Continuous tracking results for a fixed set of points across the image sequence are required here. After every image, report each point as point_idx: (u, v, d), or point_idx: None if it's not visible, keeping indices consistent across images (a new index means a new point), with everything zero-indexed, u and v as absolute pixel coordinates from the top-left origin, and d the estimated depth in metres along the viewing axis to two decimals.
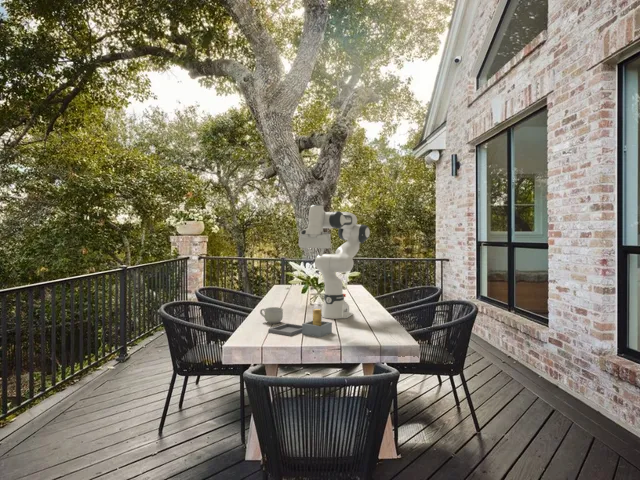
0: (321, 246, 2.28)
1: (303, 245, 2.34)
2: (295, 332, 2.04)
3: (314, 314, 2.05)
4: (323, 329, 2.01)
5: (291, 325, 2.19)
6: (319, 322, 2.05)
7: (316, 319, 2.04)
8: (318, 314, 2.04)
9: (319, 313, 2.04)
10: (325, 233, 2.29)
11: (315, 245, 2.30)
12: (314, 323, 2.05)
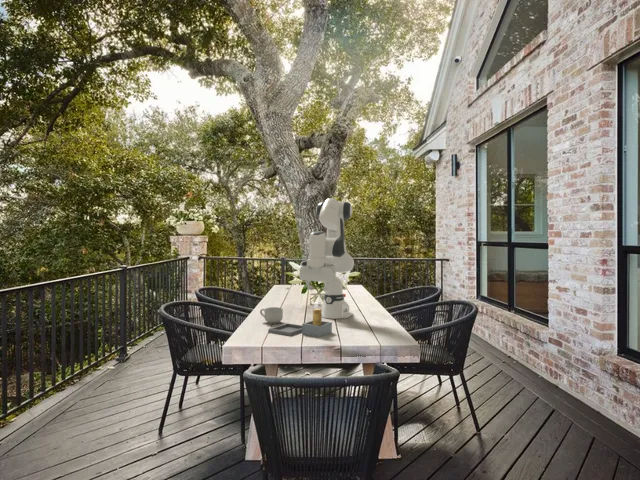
0: (325, 280, 2.01)
1: (305, 278, 2.08)
2: (295, 332, 2.04)
3: (314, 314, 2.05)
4: (323, 329, 2.01)
5: (291, 325, 2.19)
6: (319, 322, 2.05)
7: (316, 319, 2.04)
8: (318, 314, 2.04)
9: (319, 313, 2.04)
10: (329, 265, 2.02)
11: (318, 279, 2.03)
12: (314, 323, 2.05)
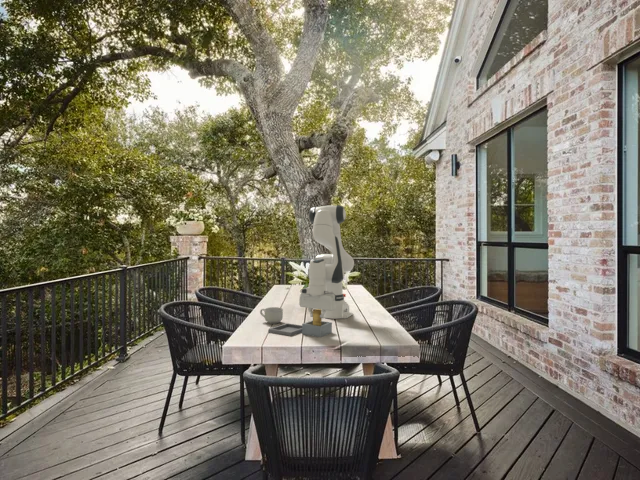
0: (325, 308, 2.02)
1: (305, 305, 2.08)
2: (295, 332, 2.04)
3: (314, 314, 2.05)
4: (323, 329, 2.01)
5: (291, 325, 2.19)
6: (319, 322, 2.05)
7: (316, 319, 2.04)
8: (318, 314, 2.04)
9: (319, 313, 2.04)
10: (329, 293, 2.02)
11: (318, 306, 2.04)
12: (314, 323, 2.05)
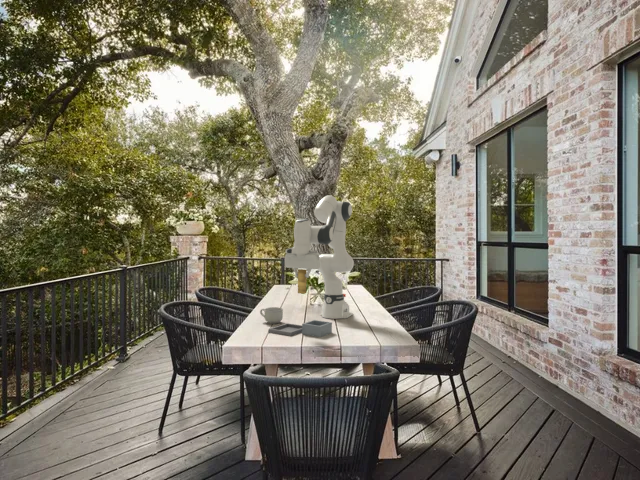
0: (310, 267, 2.04)
1: (290, 265, 2.10)
2: (295, 332, 2.04)
3: (299, 273, 2.07)
4: (323, 329, 2.01)
5: (291, 325, 2.19)
6: (304, 281, 2.07)
7: (300, 278, 2.06)
8: (303, 274, 2.06)
9: (304, 272, 2.07)
10: (313, 252, 2.04)
11: (303, 266, 2.06)
12: (299, 282, 2.07)
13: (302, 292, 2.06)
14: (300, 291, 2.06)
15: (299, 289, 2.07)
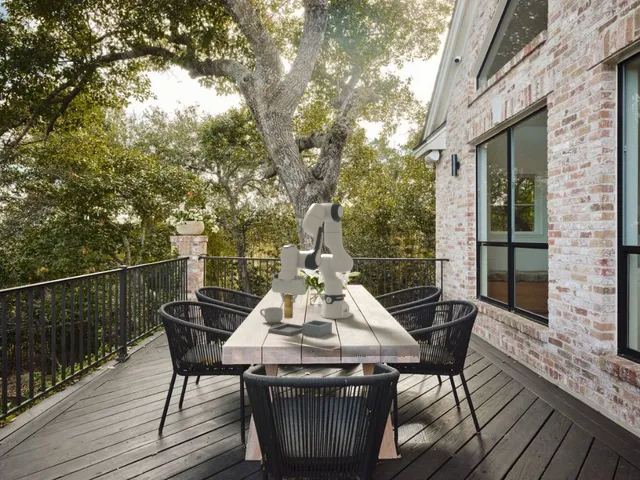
0: (296, 292, 2.06)
1: (277, 290, 2.12)
2: (295, 332, 2.04)
3: (285, 299, 2.09)
4: (323, 329, 2.01)
5: (291, 325, 2.19)
6: (290, 306, 2.09)
7: (287, 303, 2.08)
8: (289, 299, 2.08)
9: (290, 298, 2.09)
10: (300, 278, 2.06)
11: (289, 291, 2.08)
12: (285, 307, 2.09)
13: (288, 317, 2.08)
14: (286, 316, 2.09)
15: (285, 314, 2.09)
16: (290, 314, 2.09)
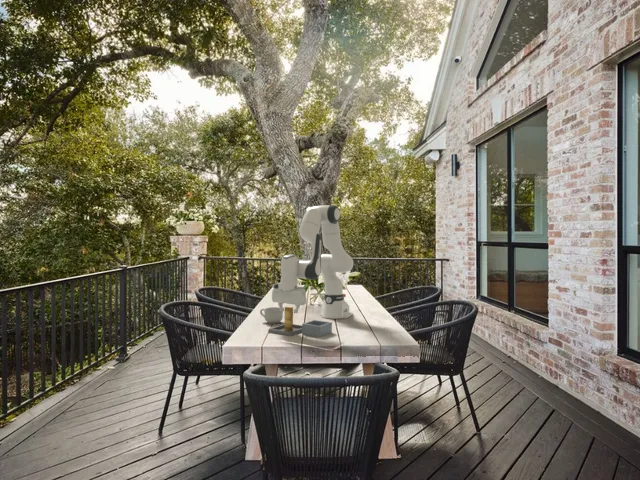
0: (296, 303, 2.06)
1: (277, 300, 2.13)
2: (295, 332, 2.04)
3: (286, 312, 2.09)
4: (323, 329, 2.01)
5: None
6: (290, 319, 2.09)
7: (287, 316, 2.09)
8: (289, 312, 2.09)
9: (290, 311, 2.09)
10: (300, 288, 2.06)
11: (289, 301, 2.08)
12: (285, 320, 2.09)
13: (288, 330, 2.09)
14: (286, 329, 2.09)
15: (285, 327, 2.09)
16: (290, 327, 2.09)
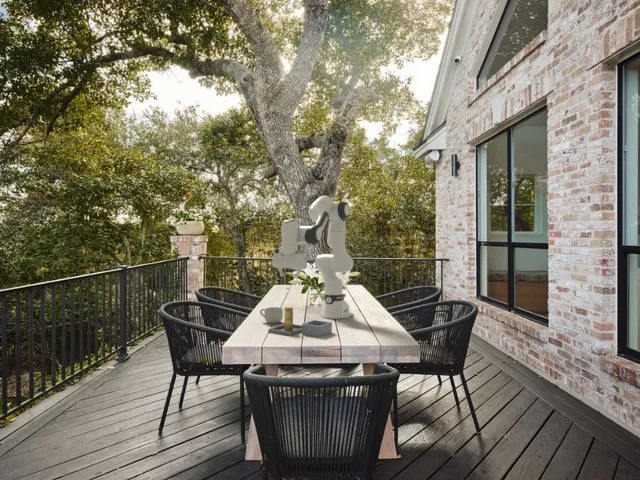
0: (296, 267, 2.06)
1: (277, 265, 2.13)
2: (295, 332, 2.04)
3: (285, 312, 2.09)
4: (323, 329, 2.01)
5: None
6: (290, 319, 2.09)
7: (287, 316, 2.09)
8: (289, 312, 2.09)
9: (290, 311, 2.09)
10: (300, 252, 2.06)
11: (290, 266, 2.08)
12: (285, 320, 2.09)
13: (288, 330, 2.09)
14: (286, 329, 2.09)
15: (285, 327, 2.09)
16: (290, 327, 2.09)
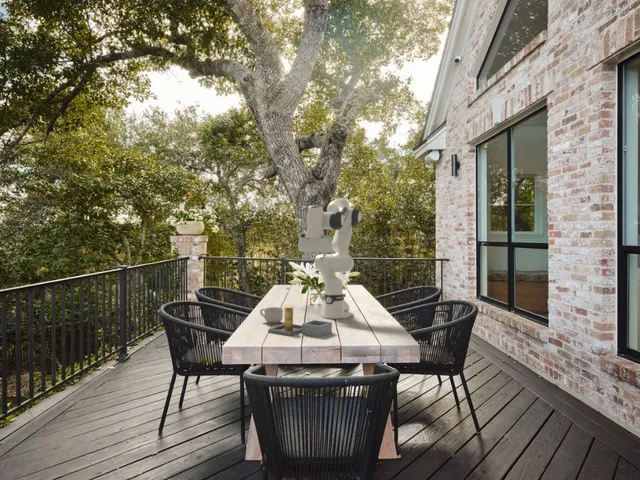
0: (322, 250, 2.14)
1: (303, 249, 2.20)
2: (295, 332, 2.04)
3: (285, 312, 2.09)
4: (323, 329, 2.01)
5: None
6: (290, 319, 2.09)
7: (287, 316, 2.09)
8: (289, 312, 2.09)
9: (290, 311, 2.09)
10: (326, 236, 2.14)
11: (316, 249, 2.16)
12: (285, 320, 2.09)
13: (288, 330, 2.09)
14: (286, 329, 2.09)
15: (285, 327, 2.09)
16: (290, 327, 2.09)
